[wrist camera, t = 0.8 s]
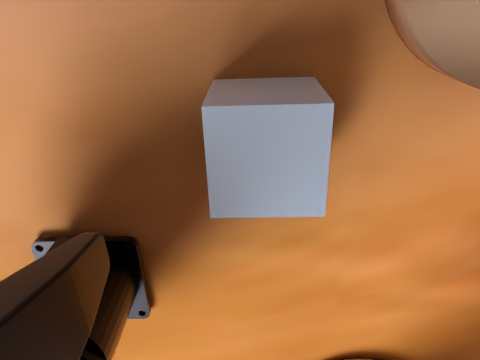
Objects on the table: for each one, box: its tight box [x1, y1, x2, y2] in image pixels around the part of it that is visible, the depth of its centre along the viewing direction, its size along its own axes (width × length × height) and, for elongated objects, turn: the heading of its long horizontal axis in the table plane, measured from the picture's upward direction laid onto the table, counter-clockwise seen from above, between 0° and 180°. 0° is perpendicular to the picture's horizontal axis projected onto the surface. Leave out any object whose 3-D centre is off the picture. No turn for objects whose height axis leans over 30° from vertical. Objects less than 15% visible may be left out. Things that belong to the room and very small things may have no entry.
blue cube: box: [201, 77, 335, 218], centre depth 17 cm, size 5×5×5 cm
